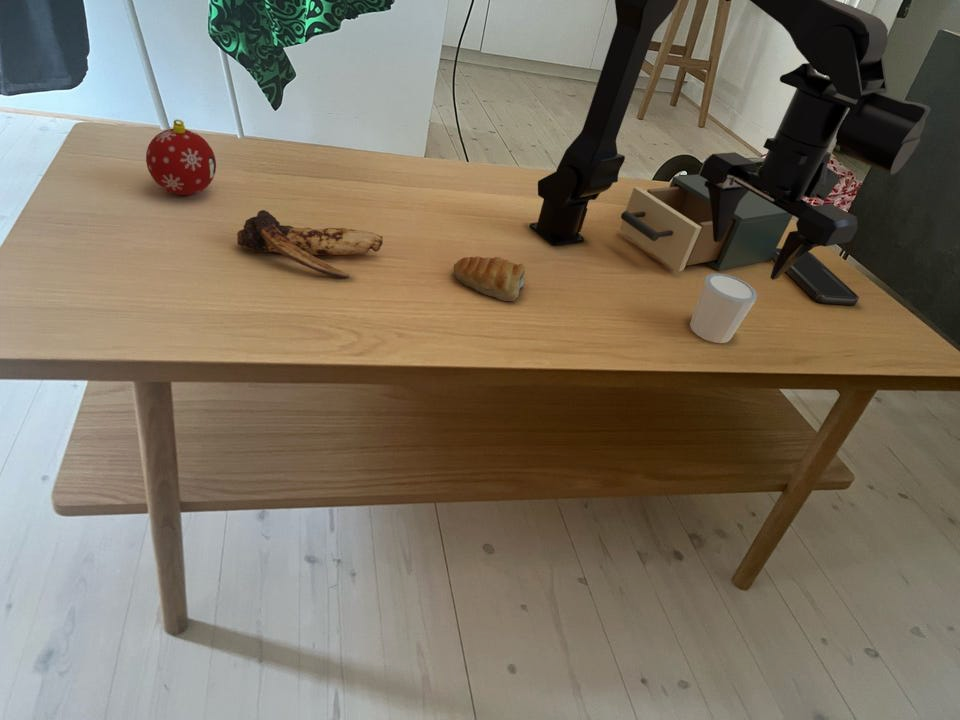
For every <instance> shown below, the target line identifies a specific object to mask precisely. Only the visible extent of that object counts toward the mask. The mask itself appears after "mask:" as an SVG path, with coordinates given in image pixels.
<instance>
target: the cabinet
mask: <svg viewBox="0 0 960 720" xmlns="http://www.w3.org/2000/svg"><path fill="white" fill-rule="evenodd" d="M705 181H708V180H707V179H705V178H703V177H701V176H700V175H699V173H698V174H697V173H696V174H688V175H687V174H686V175H676V176H672V178H671V182H670V184H669V187H676V186H681V187H682V188H684V189H686V190H687V191H689V192H690V193H692V194H694V195H695V196H697V197H699V198H700V199H702V200H703V201H705V202H707V203H708V204H710V205H711V203H710V197H709V191H708V188H707V187H706V186H704V183H705ZM793 217H794V216H793V215H791V214H790V213H788V212H786V211H784V210H783V209H781V208H779V207H777V206H776V205H774V204H772V203H770V202H769V201H767V200H765V199H763V198H762V197H760V196H758V195H756V194H755V193H753V192H751V191H748V192H747V193H746V195H745V196H744V197H743V198H742V199H741V200H740V202H739V204H738V206H737V208H736V211H735V213H734V215H733V219H734V220H736V222H735V224H734V227H733V229H732V231H731V233H730V235H729V238H728V240H727V242H726V244H725V246H724V248H723V251H722V253H721V255H720V257H719V259H718V260H713V261H707V262H705V263H706V264H707V265H708V266H710V267H711V268H713V269H715V270H716V271H717V272H719V271H724V270H730V269H735V268H739V267H744V266H749V265H753V264H758V263H764V262H767V261H771V259H773V258H772V256H773V254H774V252H775V250H776V248H778V246H779V244H780V242H781V240H782V238H783V236H784V234H785V232H786V230H787V228H788V226H789V224H790V222H791V220H792V218H793Z"/></svg>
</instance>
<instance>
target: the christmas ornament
mask: <svg viewBox="0 0 960 720" xmlns="http://www.w3.org/2000/svg"><path fill="white" fill-rule="evenodd" d="M177 122H178V123H177ZM172 126H173V127H172V128H168V129H165V130H163V131H161V132H159V133H157V134H156V135H155V136H154V137H153V138H152V139H151V141H150V142H149V144H148V146H147V149H146V155H145V163H146V167H147V171H148V173H149V174H150V176H151V177H152V180H154V182H155V183H156V184H157V185H158V186H159V187H160V188H162V189H163V190H165V191H167V192H169V193H171V194H175V195H177V196H179V195H180V196H192V195H195V194H199V193H200V192H202V191H204V190H205V189H206V188H207V187H209V185H210V184H211V183H212V181H213V180H214V177H215V175H216V171H217V161H216V156H215V152H214V150H213V148H212V147H211V146H210V144H209V142H207V140H205V138H203V137H202V136H201V135H200V134H198V133H196V132H194V131H192V130H190V129H187V128H186V127H185V123H184V121H183V120H181V119H177V118H176V119H174V120H173V125H172Z"/></svg>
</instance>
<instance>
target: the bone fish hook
mask: <svg viewBox="0 0 960 720" xmlns="http://www.w3.org/2000/svg"><path fill="white" fill-rule="evenodd" d="M236 237H237V238H236V239H237V245H238V246H240V247H244V248H246V249H249V250H251V251H253V252H254V253H255V254H257V253H270V252H273V253H276V254H282V256H285V257H286V258H288V259H289V260H292V261H293V262H295V263H297V264H299V265H302V266H304V267H306V268H308V269H311V270H313V271H315V272H318V273H321V274H323V275H326V276H329V277H333V278H339V279H348V278H350V274H349V273H348V272H347V273H346V272H345V271H342V270H340V269H338V268H336V267H335V266H332V265H331V264H329V263H327V262H325V261H323V260H321V259H320V258H317V257H316V256H343V255H353V254H367V253H369V251H370V250H372V251H373V252H376V253H377V252H379V251H380V250H381V247H382V245H383V242H384V241H383V240H384V239H383V238H384V237H383V236H382V235H380V234H379V233H375V232H372V231H368V230H362V229H361V230H360V229H352V228H345V227H328V228H327V227H326V228H312V227H294V226H292V225H283V224H281V223H280V221H279V220H277V218H276V217H275V216H273V214H271V213H270V212H269V211H268V210H265V209H261V210H259V211H258V212H257V214H256V216H252V217H250V218H249V219H246V220H245V222H244V225H243V228H242V229H240V230H238V231H237V233H236ZM315 255H316V256H315Z"/></svg>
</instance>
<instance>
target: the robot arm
mask: <svg viewBox="0 0 960 720" xmlns="http://www.w3.org/2000/svg"><path fill="white" fill-rule="evenodd" d="M749 1H750V2H751V3H752V4H754V5H755V6H756V7H757V8H759V9H760V10H762V11H763V12H764V13H766V14H767V15H768V16H770V17H771V18H772V19H773V20H775V21H776V22H777V23H778V24H780V25H781V26H782V27H783V28H784V29H785V31H786V32H787V33H788V34H789V36H790V38H791V39H792V42H793V44H794V46H795V48H796V49H797V51H798V52H799V53H800V54H801V55H802V57H803V58H805V60H806V61H807V62H806V63H805V62H803V63H801V64H800V65H798V67H796V68H795V69H793V70H791V71H789V72H787V73H784V74H781V75H780V77H779V81H780V82H781V83H783V84H785V85H787V86H791V87H792V88H795V90H794V94H793V96H792V98H791V100H790V103H789V104H788V107H787V109H786V110H785V113H784V115H783V117H782V119H781V122H780V124H779V127H778V129H777V130H776V132H775V135H774V137H768V138H766V140H765V142H764V144H763V148H764V149H766V150H768V151H767V152H766V155H765V157H764V159H763V161H762V164H761V166H760V168H759V170H758V166H757V163H756V162H754V161H753V160H750V159H749V158H747V157H745V156H743V155H741V154H740V153H738V152H720V153H719V152H718V153H712V154H710V155H709V156H708V157H707V158H705V159H704V160H703V163H702V165H701V167H700V170H699V172H698V174H699V175H700V176H701V177H703V178H705V179H707V180H708V181H705V183H704V186H706V187H707V188H708V191H709V197H710V203H711V210H712V224H713V240H714V242H720V241H721V240H722V239H723V237H724V235H725V233H726V231H727V229H728V227H729V225H730V222H731V220H732V218H733V215H734V213H735V211H736V208H737V206H738V204H739V202H740V200H741V199H742V198H743V197H744V196H745V195H746V193H747V192H748V191H751V192H753V193H755V194H756V195H758V196H760V197H762V198H763V199H765V200H767V201H769V202H770V203H772V204H774V205H776V206H777V207H779V208H781V209H783V210H784V211H786V212H788V213H790V214H791V215H793V216H792V217H795V218H797V221H796V222H795V225H796V229H797V230H793V231H789V232H788V234H787V236H786V238H785V241H784V243H783V245H782V247H781V248H780V249H781V252H780V254H779V256H778V258H777V260H776V261H775V262H774V265H773V267H772V270H771V273H770V279H771V280H777V279H779V278H780V277H781V276H782V275H784V274H785V273H786V271H787V270H788V269H789V268H790V267H791V266H792V265H793V264H794V263H795V262H796V261H798V260H799V259H800V258H801V257H802V256H803V255H804V254H806V253H807V252H810V251H811V250H813V249H815V248H816V247H830V246H835V245H839V244H840V245H841V244H843V243H844V244H845V243H850V242H851V241H852V239H853V237H854V236H855V234H856V233H857V230H858V229H859V228H858V226H859V225H858V217H857V216H855V215H853V214H852V213H850V212H848V211H846V210H844V209H842V208H840V207H839V206H837V205H835V204H832V203H826V204H819V205H813V204H811V203H810V202H807V201H806V200H804V199H803V198H804V197H805V198H808V199H815V198H817V199H820V200H822V201H826V200H827V198H828V197H829V195H831V193H832V192H833V190H834V189H835V188H836V186H837V185H838V183H839V182H840V181H841V179H842V177H841V176H840V175H839V174H838V173H836V172H835V171H834V170H832V169H831V168H829V167H828V164H829V162H830V161H831V156H832V152H829V151H828V149H829V148H830V146H831V144H832V142H833V140H834V138H835V140H836V141H835V145H836V146H839V153H840V154H842V155H844V156H847V157H849V158H852V159H854V160H857V161H858V162H861V163H863V164H866V165H868V166H871V167H873V168H876V169H878V170H879V171H883V172H885V173H886V174H890V175H894V174H896V173H898V171H899V170H901V168H902V167H903V166H904V165H905V164H906V162H907V161H908V160H909V159H910V157H911V156H912V154H913V153H914V151H915V150H916V148H917V147H918V145H919V143H920V141H921V135H922V133H923V132H924V131H923V130H924V128H925V125H926V119H927V117H928V116H929V114H930V111H931V107H930V106H929V105H927V104H926V105H925V104H923V103H921V102H912V101H908V100H906V99H903V98H899V97H896V96H894V95H891V94H889V93H888V86H887V79H886V72H885V71H886V70H885V65H884V57H883V55H884V54H885V51H886V49H887V45H888V32H889V30H888V27H887V25H886V24H885V22H884V21H883V20H882V19H881V18H879V17H878V16H876V15H874V14H871V13H869V12H866V11H865V10H862V9H859V8H857V7H854V6H853V5H850V4H847V3H844V2H842V1H838V0H749ZM678 2H679V0H614V5H615V13H616V15H615V16H616V24H615V27H614V31H613V34H612V38H611V40H610V44H609V46H608V50H607V52H606V56H605V58H604V61H603V65H602V68H601V71H600V75H599V77H598V81H597V83H596V87H595V88H594V89H595V90H594V93H593V96H592V99H591V102H590V105H589V107H588V111H587V114H586V117H585V121H584V124H583V127H582V129H581V131H580V133H578V135H577V136H576V138H574V140H573V141H572V142H571V143H570V145H569V146H568V147H567V148H566V149H565V151H564V152H563V155H562V157H561V159H560V162H559V164H558V166H557V167H556V171H554V172H552V173H551V174H548V175H547V176H545V177H543V178H541V179H539V180H537V196H538V197H540V198H542V199H543V201H542V205H541V208H540V211H539V215H538V219H537V221H536V222H530V223H529V229H532V230H533V231H534V232H535V233H536V234H537V235H539V236H540V237H541V238H543V240H545V241H546V242H547V243H548V244H550V245H551V246H554V247H556V246H557V247H558V246H564V245H570V244H577V243H584V242H585V239H586V238H585V237H584V236H583V235H582V234H581V232H582V228H583V225H584V223H585V220H586V215H587V212H588V205H589V201H595V200H597V198H598V197H599V196H600V195H601V193H604V192H606V191H608V190H609V189H610V188H611V187H612V186H613V183H614V184H615V183H618V181H619V174H620V170H621V168H622V166H623V165H624V162H625V160H626V156H625V155H624V154H621V153H618V147H617V138H618V135H619V132H620V130H621V126H622V123H623V121H624V118H625V116H626V113H627V110H628V106H629V104H630V101H631V98H632V96H633V92H634V90H635V87H636V85H637V82H638V79H639V76H640V73H641V71H642V68H643V65H644V62H645V60H646V56H647V55H648V51H649V49H650V45H651V43H652V41H653V37H654V35H655V33H656V31H657V30H658V29H659V27H660V26H661V25H662V24H663V23H664V22H665V20H666V19H667V18H668V17H669V16H670V14H671V13H672V12H673V11H674V9H675V8H676V6H677V4H678ZM825 76H826V77H825Z"/></svg>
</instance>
